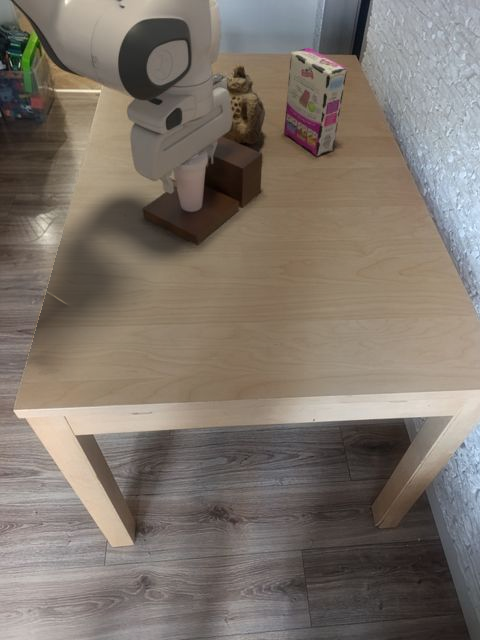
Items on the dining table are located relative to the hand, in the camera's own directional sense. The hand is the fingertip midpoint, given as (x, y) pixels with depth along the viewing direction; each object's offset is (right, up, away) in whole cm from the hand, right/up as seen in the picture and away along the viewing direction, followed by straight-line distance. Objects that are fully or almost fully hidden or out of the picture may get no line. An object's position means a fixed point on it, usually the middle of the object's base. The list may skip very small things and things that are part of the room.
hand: (189, 177), depth 84 cm
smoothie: (0, -4, +4) cm, 6 cm away
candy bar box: (+22, +15, +23) cm, 35 cm away
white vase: (0, +25, +29) cm, 38 cm away
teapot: (+7, +15, +22) cm, 27 cm away
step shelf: (+2, -2, +8) cm, 8 cm away
